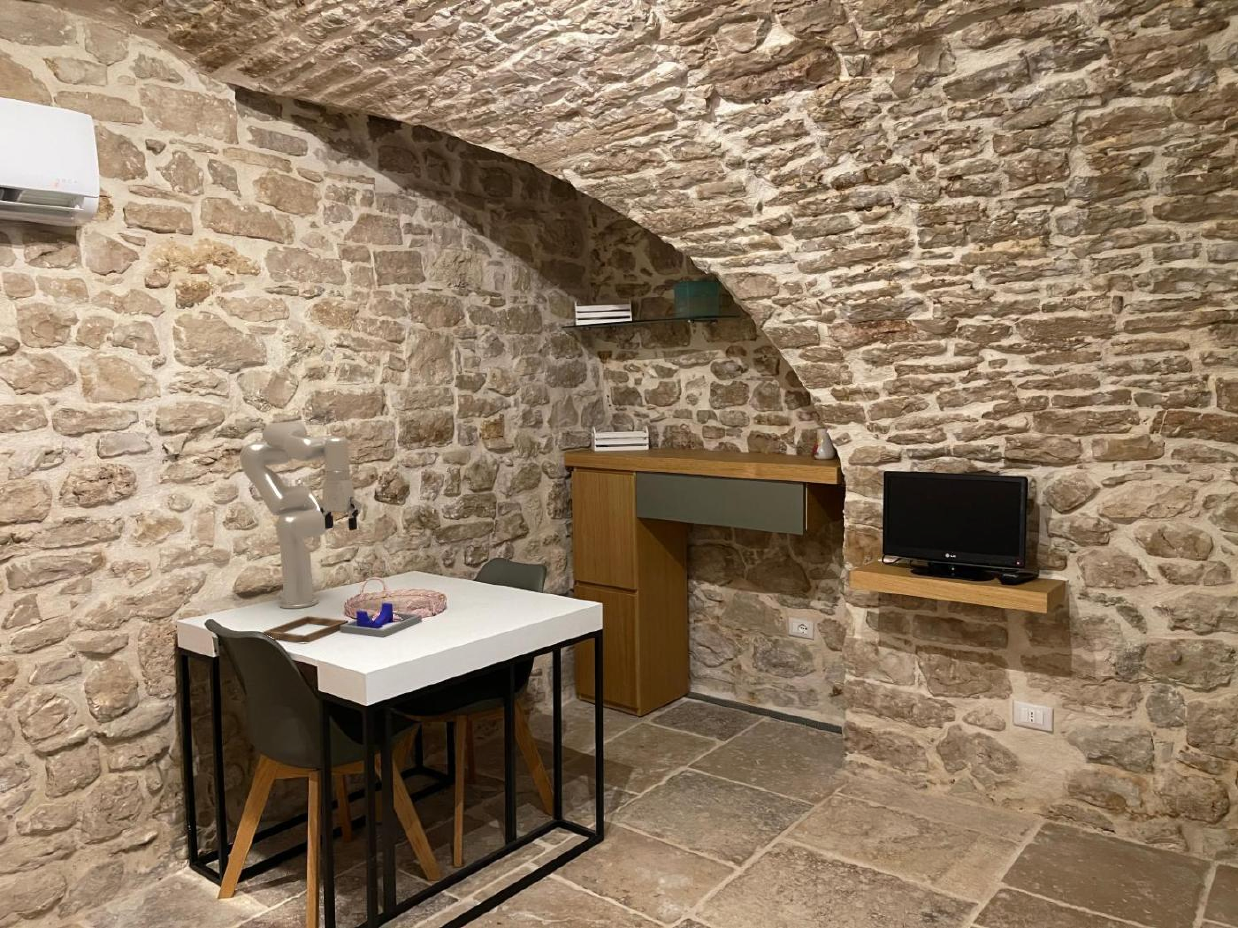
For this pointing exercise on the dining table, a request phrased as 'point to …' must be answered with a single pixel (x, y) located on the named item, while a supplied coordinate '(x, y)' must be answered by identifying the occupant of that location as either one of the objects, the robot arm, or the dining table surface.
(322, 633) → the walnut holder
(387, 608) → the blue notched cradle block
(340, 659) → the dining table surface
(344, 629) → the tray
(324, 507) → the robot arm
